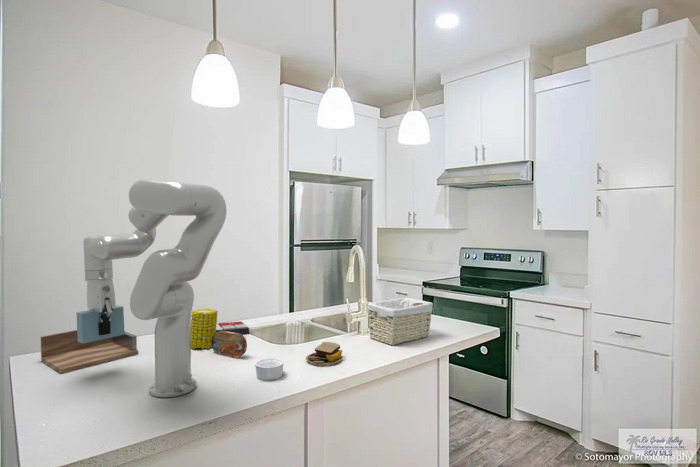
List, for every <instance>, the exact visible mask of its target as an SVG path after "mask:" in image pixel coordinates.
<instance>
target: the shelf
mask: <svg viewBox="0 0 700 467" xmlns="http://www.w3.org/2000/svg"><path fill="white" fill-rule="evenodd" d="M137 338H138V337H137V335H135V334H133V333H130V332H127V331H125V330H124V335H120V336H115V337H111V338H106V339H102V340H97V341H93V342H88V343H84V344H83V343H80V342H78V336H77V329H76V330H70V331H64V332H59V333H53V334H48V335H43V336H40V358H41V360H40V361H41V362H42V364H44V365H45V366H48V367H49V368H50V369H52V370H53V371H55V372H57V373H59V374H60V375H63V374H67V373H71V372H74V371H79V370H82V369H85V368H89V367H93V366H97V365H102V364H105V363H110V362H113V361H116V360H121V359H124V358H125V359H126V358H129V357H133V356H137V355H139V350H138V349H137V348H138V345H137V340H138V339H137Z"/></svg>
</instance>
